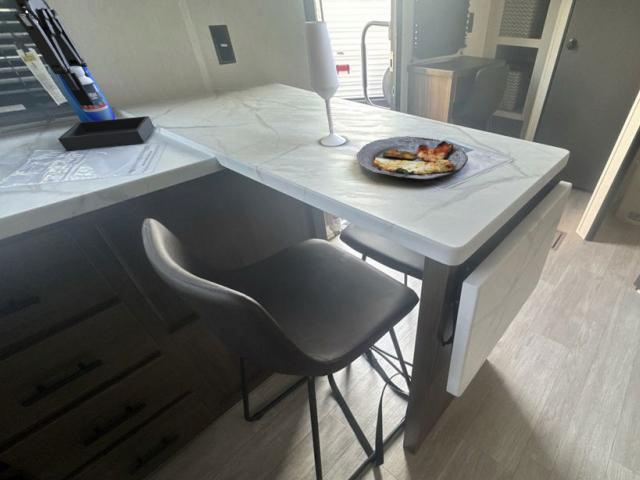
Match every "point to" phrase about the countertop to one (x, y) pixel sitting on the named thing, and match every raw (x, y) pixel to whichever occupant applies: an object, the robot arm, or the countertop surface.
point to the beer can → (82, 115)
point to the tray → (107, 133)
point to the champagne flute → (323, 71)
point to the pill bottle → (89, 91)
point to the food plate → (412, 157)
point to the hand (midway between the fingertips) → (91, 101)
